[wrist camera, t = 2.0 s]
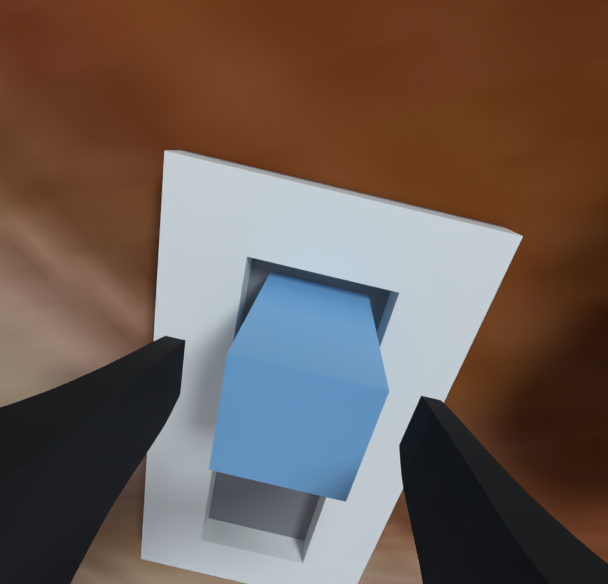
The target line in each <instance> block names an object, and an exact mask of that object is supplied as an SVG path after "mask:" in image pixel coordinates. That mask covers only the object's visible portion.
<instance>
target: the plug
mask: <svg viewBox="0 0 608 584" xmlns="http://www.w3.org/2000/svg"><path fill="white" fill-rule="evenodd" d="M388 393H389V387H388V383H387V378H386V374H385V369H384V364H383V360H382V355H381V351H380V346H379V342H378V337H377V332H376V328H375V323H374V319H373V314H372V310H371V305H370V300H369V296H368V295H366V294H362V293H358V292H353V291H349V290H345V289H341V288H337V287H332V286H328V285H324V284H320V283H316V282H311V281H307V280H303V279H299V278H295V277H290V276H286V275H282V274H278V273H273V272H270V274H269V276H268V278H267V279H266V281H265V283H264V285H263V287H262V289H261V291H260V293H259V294H258V296H257V298H256V300H255V302H254V304H253V306H252V308H251V309H250V311H249V313H248V315H247V317H246V319H245V321H244V322H243V324H242V326H241V328H240V330H239V332H238V334H237V336H236V337H235V339H234V341H233V343H232V345H231V347H230V349H229V351H228V352H227V358H226V364H225V371H224V377H223V383H222V390H221V396H220V403H219V409H218V415H217V422H216V428H215V434H214V441H213V447H212V454H211V460H210V466H209V470H212V471H216V472H221V473H225V474H229V475H234V476H238V477H242V478H246V479H251V480H255V481H259V482H263V483H268V484H272V485H276V486H280V487H285V488H289V489H293V490H297V491H302V492H306V493H310V494H315V495H319V496H323V497H327V498H332V499H336V500H340V501H344V502H346V500H347V498H348V495H349V493H350V490H351V488H352V485H353V483H354V480H355V477H356V475H357V472H358V470H359V467H360V465H361V462H362V460H363V457H364V454H365V452H366V449H367V447H368V444H369V442H370V439H371V437H372V434H373V432H374V429H375V426H376V424H377V421H378V419H379V416H380V414H381V411H382V409H383V406H384V403H385V401H386V398H387V396H388Z"/></svg>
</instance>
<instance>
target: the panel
mask: <svg viewBox="0 0 608 584" xmlns="http://www.w3.org/2000/svg"><path fill="white" fill-rule="evenodd" d="M522 237H523V236H521V235H519V234H517V233H515V232H513V231H511V230H509V229H507V228H504V227H502V226H499V225H495V224H490V223H486V222H482V221H478V220H474V219H469V218H465V217H461V216H457V215H453V214H448V213H444V212H440V211H436V210H432V209H428V208H423V207H419V206H415V205H411V204H407V203H402V202H398V201H394V200H390V199H386V198H382V197H377V196H373V195H369V194H365V193H361V192H356V191H352V190H348V189H344V188H340V187H335V186H331V185H327V184H323V183H319V182H315V181H310V180H306V179H302V178H298V177H294V176H289V175H285V174H281V173H277V172H273V171H269V170H264V169H260V168H256V167H252V166H248V165H243V164H239V163H235V162H231V161H227V160H222V159H218V158H214V157H210V156H206V155H202V154H197V153H193V152H189V151H185V150H172V151H164V169H163V186H162V203H161V220H160V238H159V255H158V272H157V289H156V307H155V324H154V341H156V340H158V339H160V338H162V337H164V336H169V337H173V338H178V339H182V340H186V341H185V351H184V361H183V371H182V382H181V392H180V396H179V398H178V400H177V402H176V404H175V406H174V408H173V410H172V412H171V414H170V416H169V418H168V420H167V422H166V424H165V426H164V427H163V429H162V430H161V432H160V434H159V435H158V437H157V438H156V440H155V441H154V443H153V444H152V446H151V447H150V449H149V450H148V452H147V462H146V479H145V497H144V514H143V531H142V549H141V559H144V560H148V561H153V562H157V563H161V564H165V565H170V566H174V567H178V568H183V569H187V570H191V571H196V572H200V573H204V574H208V575H213V576H217V577H221V578H226V579H230V580H234V581H238V582H243V583H247V584H358V582H359V579H360V577H361V575H362V573H363V571H364V569H365V567H366V565H367V563H368V561H369V558H370V556H371V554H372V552H373V550H374V548H375V546H376V544H377V542H378V540H379V537H380V535H381V533H382V531H383V529H384V527H385V525H386V523H387V521H388V519H389V516H390V514H391V512H392V510H393V508H394V506H395V504H396V502H397V500H398V498H399V495H400V493H401V491H402V489H403V483H402V476H401V466H400V452H399V445H400V442H401V440H402V438H403V436H404V433H405V431H406V429H407V427H408V424H409V422H410V420H411V417H412V415H413V413H414V411H415V408H416V406H417V404H418V402H419V399H420V397H421V396H425V397H429V398H433V399H438V400H441V401H442V402H443V403H444V401H445V399H446V397H447V395H448V393H449V390H450V388H451V386H452V384H453V382H454V380H455V378H456V376H457V374H458V372H459V369H460V367H461V365H462V363H463V361H464V359H465V357H466V355H467V353H468V351H469V348H470V346H471V344H472V342H473V340H474V338H475V336H476V334H477V332H478V330H479V327H480V325H481V323H482V321H483V319H484V317H485V315H486V313H487V311H488V309H489V306H490V304H491V302H492V300H493V298H494V296H495V294H496V292H497V290H498V288H499V285H500V283H501V281H502V279H503V277H504V275H505V273H506V271H507V269H508V266H509V264H510V262H511V260H512V258H513V256H514V254H515V252H516V250H517V248H518V245H519V243H520V241H521V239H522ZM270 272H273V273H278V274H282V275H286V276H290V277H295V278H299V279H303V280H307V281H311V282H316V283H320V284H324V285H328V286H332V287H337V288H341V289H345V290H349V291H353V292H358V293H362V294H366V295H368V296H369V300H370V305H371V310H372V314H373V319H374V323H375V328H376V332H377V337H378V342H379V346H380V351H381V355H382V360H383V364H384V369H385V374H386V378H387V383H388V387H389V393H388V396H387V398H386V401H385V403H384V406H383V409H382V411H381V414H380V416H379V419H378V421H377V424H376V426H375V429H374V432H373V434H372V437H371V439H370V442H369V444H368V447H367V449H366V452H365V454H364V457H363V460H362V462H361V465H360V467H359V470H358V472H357V475H356V477H355V480H354V483H353V485H352V488H351V490H350V493H349V495H348V498H347V500H346V502H344V501H340V500H336V499H332V498H327V497H323V496H319V495H315V494H310V493H306V492H302V491H297V490H293V489H289V488H285V487H280V486H276V485H272V484H268V483H263V482H259V481H255V480H251V479H246V478H242V477H238V476H234V475H229V474H225V473H221V472H216V471H212V470H209V466H210V460H211V454H212V447H213V441H214V434H215V428H216V422H217V415H218V409H219V403H220V396H221V390H222V383H223V377H224V371H225V364H226V358H227V352H228V351H229V349H230V347H231V345H232V343H233V341H234V339H235V337H236V336H237V334H238V332H239V330H240V328H241V326H242V324H243V322H244V321H245V319H246V317H247V315H248V313H249V311H250V309H251V308H252V306H253V304H254V302H255V300H256V298H257V296H258V294H259V293H260V291H261V289H262V287H263V285H264V283H265V281H266V279H267V278H268V276H269V274H270ZM154 341H153V342H154Z"/></svg>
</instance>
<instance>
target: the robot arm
mask: <svg viewBox="0 0 608 584" xmlns="http://www.w3.org/2000/svg"><path fill="white" fill-rule="evenodd" d="M185 341H186V340H182V339H178V338H173V337H169V336H164V337H162V338H160V339H158V340H156V341H154V342H152V343H150V344H148V345H146V346H144V347H142V348H140V349H138V350H136V351H134V352H132V353H130V354H128V355H126V356H124V357H122V358H120V359H118V360H116V361H114V362H112V363H110V364H108V365H106V366H104V367H102V368H100V369H98V370H95V371H93V372H91V373H89V374H86V375H84V376H82V377H80V378H77V379H75V380H73V381H71V382H69V383H66V384H64V385H61V386H59V387H57V388H54V389H51V390H49V391H46V392H44V393H41V394H38V395H36V396H33V397H30V398H27V399H24V400H22V401H19V402H16V403H13V404H10V405H7V406H4V407H1V408H0V584H70V583H71V581H72V579H73V577H74V575H75V573H76V571H77V569H78V568H79V566H80V564H81V562H82V560H83V558H84V556H85V554H86V552H87V550H88V549H89V547H90V545H91V543H92V541H93V539H94V538H95V536H96V534H97V532H98V530H99V528H100V527H101V525H102V523H103V521H104V519H105V517H106V515H107V514H108V512H109V510H110V509H111V507H112V505H113V504H114V502H115V500H116V499H117V497H118V496H119V494H120V493H121V491H122V489H123V488H124V486H125V485H126V483H127V482H128V480H129V479H130V477H131V476H132V474H133V473H134V471H135V470H136V468H137V467H138V465H139V464H140V462H141V461H142V459H143V458H144V456H145V455H146V453H147V452H148V450H149V449H150V447H151V446H152V444H153V443H154V441H155V440H156V438H157V437H158V435H159V434H160V432H161V430H162V429H163V427H164V426H165V424H166V422H167V420H168V418H169V416H170V414H171V412H172V410H173V408H174V406H175V404H176V402H177V400H178V398H179V396H180V392H181V382H182V371H183V361H184V351H185ZM399 452H400V466H401V476H402V483H403V488H404V493H405V498H406V503H407V508H408V512H409V517H410V522H411V526H412V531H413V536H414V540H415V545H416V550H417V554H418V559H419V564H420V569H421V575H422V581H423V584H608V564H607V563H606V562H605V561H603V560H602V559H601V558H600V557H598V556H597V555H596V554H595V553H594V552H592V551H591V550H590V549H589V548H588V547H586V546H585V545H584V544H583V543H582V542H581V541H579V540H578V539H577V538H576V537H575V536H574V535H572V534H571V533H570V532H569V531H568V530H567V529H566V528H565V527H564V526H562V525H561V524H560V523H559V522H558V521H557V520H556V519H555V518H554V517H553V516H551V515H550V514H549V513H548V512H547V511H546V510H545V509H544V508H543V507H542V506H541V505H540V504H538V503H537V502H536V501H535V500H534V499H533V498H532V497H531V496H530V495H529V494H528V493H527V492H526V491H525V490H524V489H523V488H522V487H521V486H520V485H519V484H518V483H517V482H516V481H515V480H514V479H513V478H512V477H511V476H510V475H509V474H508V473H507V471H506V470H505V469H504V468H503V467H502V466H501V465H500V464H499V463H498V462H497V461H496V460H495V459H494V458H493V457H492V456H491V454H490V453H489V452H488V451H487V450H486V449H485V448H484V447H483V446H482V444H481V443H480V442H479V441H478V440H477V439H476V438H475V437H474V436H473V434H472V433H471V432H470V431H469V430H468V429H467V428H466V427H465V425H464V424H463V423H462V422H461V421H460V420H459V419H458V418H457V416H456V415H455V414H454V413H453V412H452V411H451V410H450V409H449V408H448V407H447V406H446V405H445V404H444V403H443V402H442V401H441V400H438V399H433V398H429V397H425V396H421V397H420V399H419V402H418V404H417V406H416V408H415V411H414V413H413V415H412V417H411V420H410V422H409V424H408V427H407V429H406V431H405V433H404V436H403V438H402V440H401V442H400V445H399Z"/></svg>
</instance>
